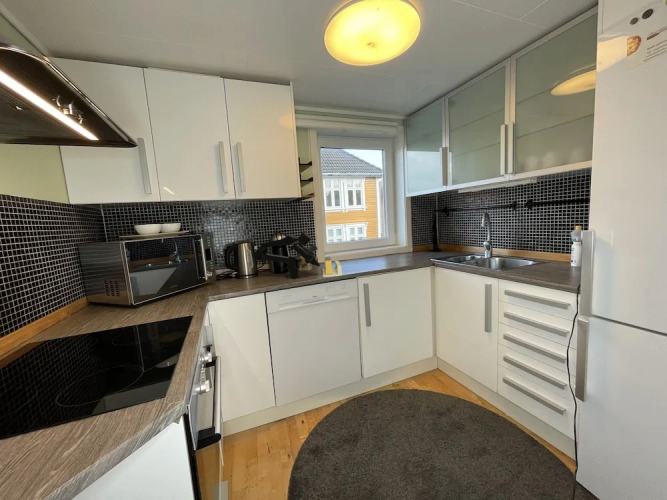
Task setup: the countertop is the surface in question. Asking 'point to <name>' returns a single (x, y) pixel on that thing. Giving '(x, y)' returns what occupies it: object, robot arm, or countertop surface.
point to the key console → (334, 270)
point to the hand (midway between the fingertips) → (319, 265)
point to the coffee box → (304, 264)
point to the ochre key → (328, 267)
